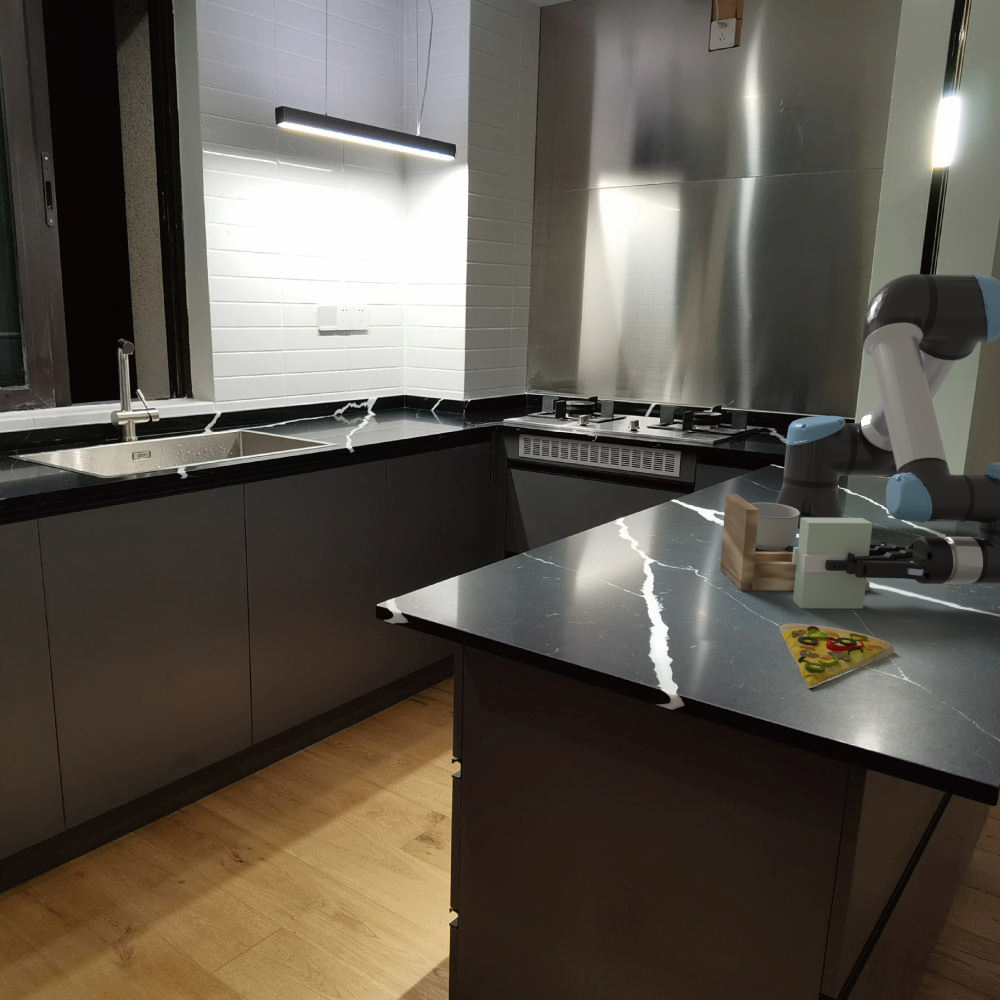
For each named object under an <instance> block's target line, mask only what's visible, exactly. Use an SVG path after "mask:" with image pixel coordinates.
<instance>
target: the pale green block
mask: <svg viewBox="0 0 1000 1000" xmlns="http://www.w3.org/2000/svg"><path fill="white" fill-rule="evenodd" d="M872 529H873V523H872V522H871V521H869V520H867V519H865V518H863V517H843V518H801V520H800V527H799V532H798V543H797V547H798V553H797V563H796V574H795V585H794V591H793V598H792V601H793V603H795V604H796V605H797V606H798V607H799V608H800V609H864V604H865V593H866V591H865V585H866V580H867V578H858V577H856V576H855V574H848V573H846V571H844V573H836V572H802V563H803V554H818V555H845V556H846V560H848V553H849V552H850V553H853V554H855V556H854V557H858V556H869V549H870V543H871V539H872V532H873V531H872Z"/></svg>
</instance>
